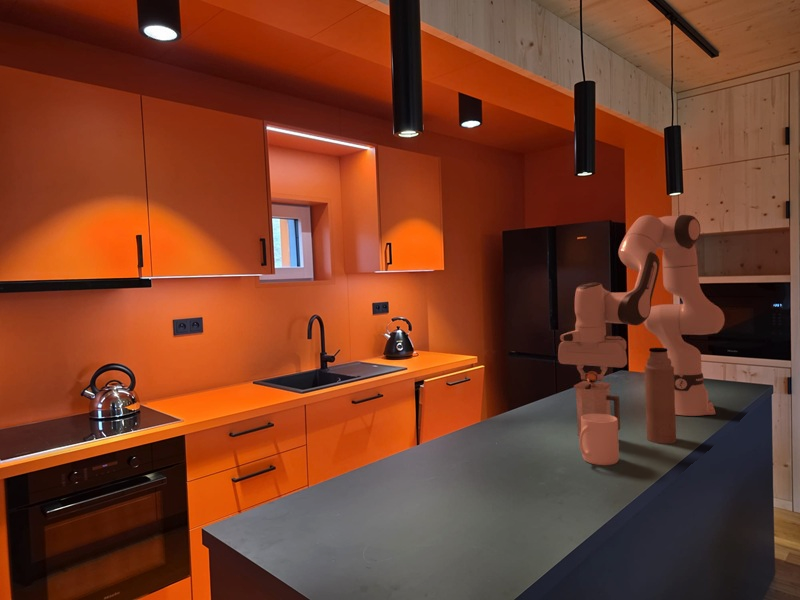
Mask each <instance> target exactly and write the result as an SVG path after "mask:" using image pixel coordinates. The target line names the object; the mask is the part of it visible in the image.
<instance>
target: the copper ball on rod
mask: <svg viewBox="0 0 800 600" xmlns="http://www.w3.org/2000/svg"><path fill="white" fill-rule="evenodd" d="M586 373H587V375H586V381H589V382H590V383H591V387H592V386H594V383H595V384H596V382H597V383H598V380H597V375H598V373H597V372H596V371H594V370H591V371H588V372H586Z"/></svg>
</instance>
